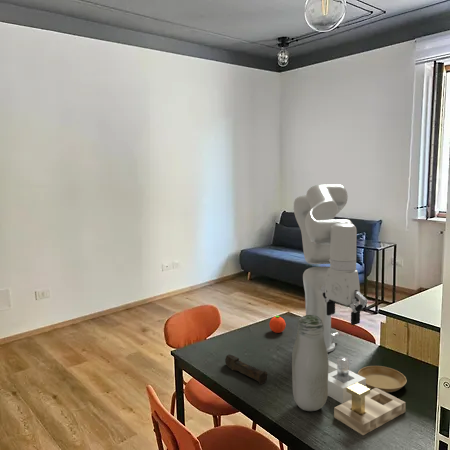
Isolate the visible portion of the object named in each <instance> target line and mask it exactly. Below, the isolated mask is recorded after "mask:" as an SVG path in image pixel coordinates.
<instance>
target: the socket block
mask: <svg viewBox="0 0 450 450" xmlns="http://www.w3.org/2000/svg"><path fill="white" fill-rule="evenodd" d="M406 403H407V402H406V401H404V400H401V399H400V398H397V397H396V396H394V395H392V394H390V393H386V392H384V391H382V390H380V389H378V388H374V389H370V394H368V395H366V396H365V414H364V415H362V416H361V415H359V414H357V413H355V412H354V411H352V399H351V400H349V401H347V402H345V403H343V404H342V403H339V405H337V406H334V409H333V412H334V413H333V418H334V419H336V420H337V421H339V422H341V423H342V424H345V426H347V427H349V428H351V429H353V431H355V432H357V433H358V434H360V435H362V436H365V435H366V434H368V433H370V432H373V430H376V429H377V428H380V427H381V426H383V425H385V424H387V423H388V422H390V421H392V420H394V419H395V418H398V417H399V416H401V415H403V414H404V413H406Z"/></svg>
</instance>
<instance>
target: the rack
mask: <svg viewBox="0 0 450 450" xmlns="http://www.w3.org/2000/svg"><path fill="white" fill-rule="evenodd" d="M328 361H329V366H328V396H327V397H330V398H332V399H333V400H334V401H337V402H338V403H339V404H343V403H345V402H347V401H349V400H351V399H352V394H350V393H348V392H347V387H349V386H351V385H353V384H355V383H359V384H361V385H363V386H365V387H367V386H366V378H364V377H362V376H360V375H358V373H355V372H353V371H352V370H350V369H349V381H348V382H345V383H343V382H341V381H339V380H337V363H335V362H334V361H331V360H329V359H328Z"/></svg>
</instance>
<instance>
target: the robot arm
mask: <svg viewBox="0 0 450 450" xmlns="http://www.w3.org/2000/svg"><path fill="white" fill-rule="evenodd" d="M348 197H349V196H348V191H347V189H346V187H344V185H342V184H338V183H336V184H335V183H332V184H317V185H313V186H310V188H309V189H308V190H307V191H306V194H304V195H300V196H298V197H296V198H295V199H294V201H293V213H294V216H295V220H296V222H297V224H298V227H299V229H300V232H301V233H300V234H301V240H302V250H303V256H304V260H305V262H306V263H307V264H309V265H329V266H313V267H309V268H307V269H305V270H304V272H303V274H302V281H303V289H304V299H305V315H316V316H318V317H319V318H320V319H321V320H322V322H323V326H324V331H323V335H324V342H325V346H326V350H327V353H331V352H333V351H334V350H335V349H336V343H335V342H334V339H337V338H339V337H340V334H339V332H334V333H332V315H335V314H336V303H338V304H340V305H344V306H349V307H350V309H351V310H352V311H351V312H350V324H351V326H355V325H358V324H360V323H361V312H362V311H363V309H365V308H366V305H367V303H368V302H369V300H368V299H367V298H366V297H365V296H364V295H363V294H362V293H361V287H360V278H359V272H358V270H357V233H358V230H357V227H356V226H355V224H353V222H352V221H351V220H350V219H347V218H345V219H344V218H342V219H340V218H339V219H337V218H336V216H337V215H338V214H339V213H340V212H341V211H342V210H343V209H344V208H345V207H346V205H347V202H348ZM335 218H336V219H335Z"/></svg>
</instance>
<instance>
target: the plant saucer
mask: <svg viewBox="0 0 450 450" xmlns="http://www.w3.org/2000/svg"><path fill="white" fill-rule="evenodd" d="M357 374H358V375H360V376H362V377H364V378H366V387H367V388H369V389H370V390H372V389H374V388H378V389H380V390H382V391H384V392H386V393H388V394H390V393H394V392H397V391H399V390H400V389H402V388H403V387H404V386H405V385H406V384H407V377H406V376H405V375H404V374H403V373H401V372H400V371H398V370H397V369H394V368H391V367H389V366H388V367H387V366H384V365H383V366H382V365H368V366H364V367H362V368H361V369H359V370H358V372H357Z"/></svg>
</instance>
